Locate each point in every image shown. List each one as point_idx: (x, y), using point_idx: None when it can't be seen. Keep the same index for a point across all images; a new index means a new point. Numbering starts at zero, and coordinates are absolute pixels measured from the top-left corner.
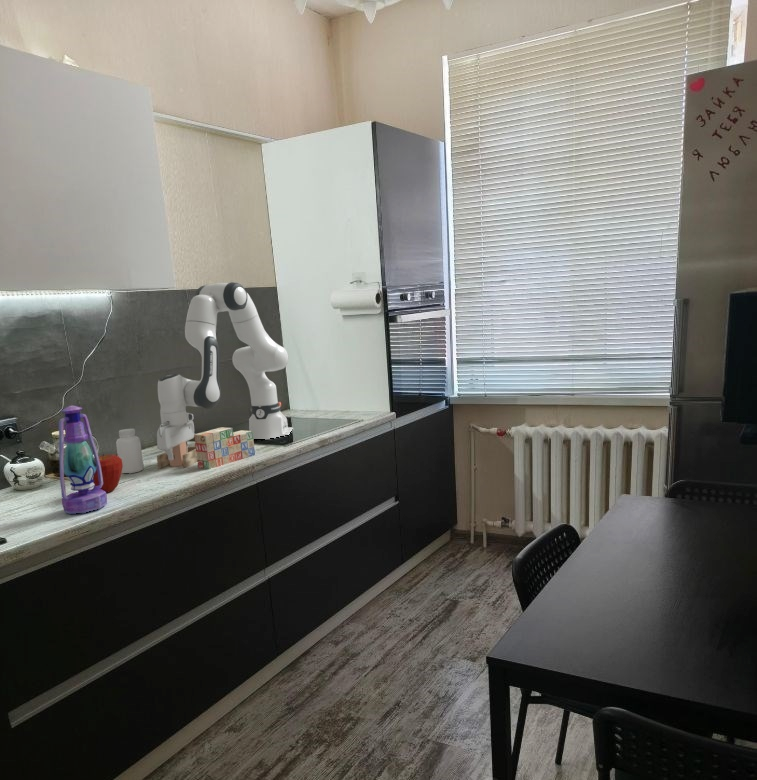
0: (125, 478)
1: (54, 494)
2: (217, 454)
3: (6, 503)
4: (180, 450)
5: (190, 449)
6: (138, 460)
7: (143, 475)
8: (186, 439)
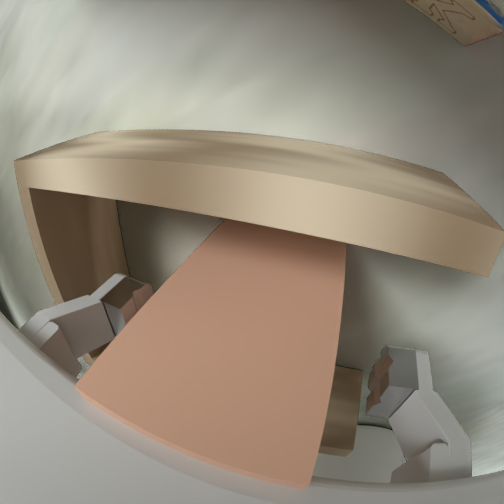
0: (472, 428)
1: (493, 468)
2: None
3: None
4: (323, 371)
5: (70, 269)
6: (382, 477)
7: (478, 395)
8: (34, 378)
